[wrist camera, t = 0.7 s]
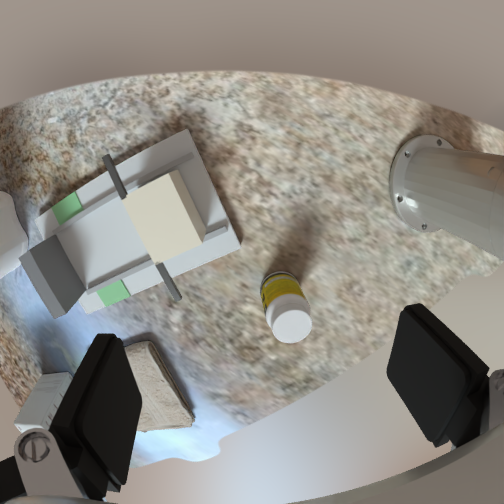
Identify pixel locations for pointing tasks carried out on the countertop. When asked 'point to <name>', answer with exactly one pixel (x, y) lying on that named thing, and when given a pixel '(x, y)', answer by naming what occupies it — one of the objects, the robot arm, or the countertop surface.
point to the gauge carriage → (162, 218)
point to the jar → (10, 236)
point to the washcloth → (157, 390)
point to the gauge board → (120, 233)
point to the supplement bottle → (285, 307)
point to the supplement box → (43, 401)
